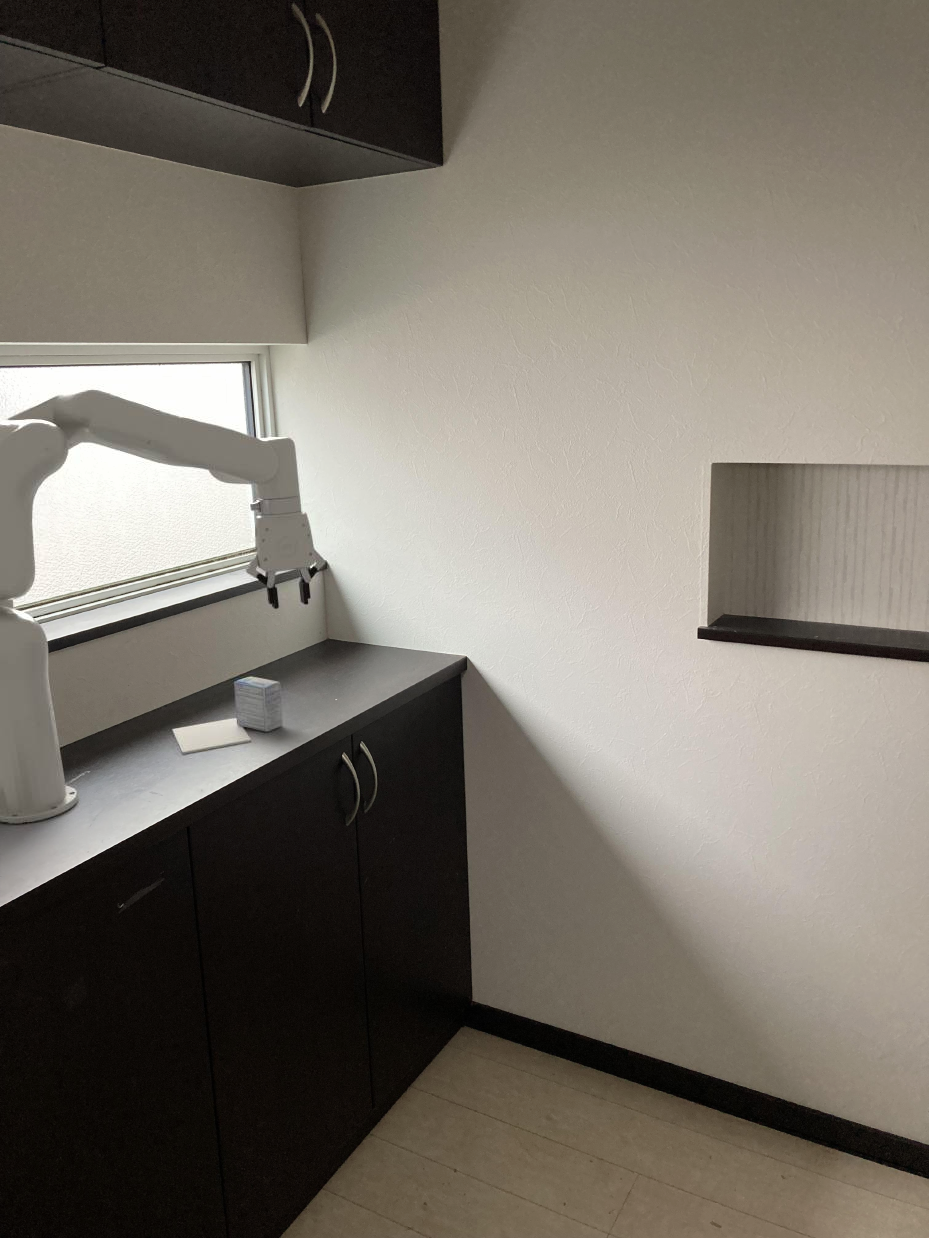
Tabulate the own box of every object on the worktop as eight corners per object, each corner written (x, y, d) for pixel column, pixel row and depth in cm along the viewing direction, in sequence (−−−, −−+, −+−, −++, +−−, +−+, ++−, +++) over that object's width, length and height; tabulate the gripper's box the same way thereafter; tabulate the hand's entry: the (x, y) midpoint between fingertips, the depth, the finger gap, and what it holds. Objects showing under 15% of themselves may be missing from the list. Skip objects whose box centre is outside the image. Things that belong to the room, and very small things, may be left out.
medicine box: (283, 726, 190) (281, 681, 188) (266, 733, 186) (264, 687, 185) (253, 719, 194) (250, 675, 192) (235, 725, 191) (233, 680, 189)
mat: (182, 754, 179) (182, 752, 179) (172, 731, 191) (172, 729, 191) (251, 741, 183) (250, 739, 183) (236, 719, 196) (236, 717, 196)
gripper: (236, 514, 177) (247, 615, 182) (331, 504, 184) (340, 602, 188) (228, 509, 184) (240, 608, 188) (320, 500, 190) (329, 595, 195)
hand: (289, 604), depth 188 cm, fingers open, 4 cm apart
